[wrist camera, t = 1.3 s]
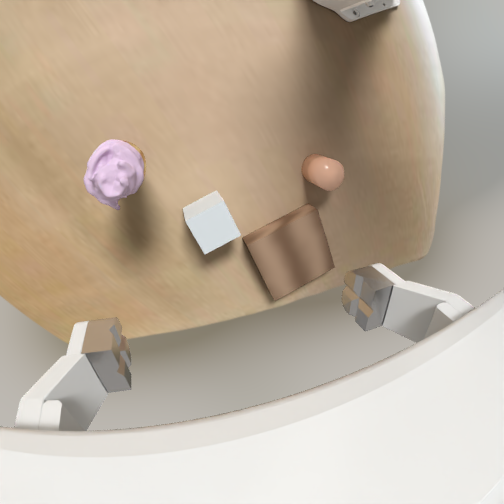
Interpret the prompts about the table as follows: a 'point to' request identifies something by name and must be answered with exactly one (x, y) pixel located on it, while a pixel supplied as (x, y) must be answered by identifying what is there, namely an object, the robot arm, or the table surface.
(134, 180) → the ice cream cone
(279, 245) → the walnut plinth
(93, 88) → the table surface
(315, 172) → the peach rounded block
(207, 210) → the white cube
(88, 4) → the table surface
